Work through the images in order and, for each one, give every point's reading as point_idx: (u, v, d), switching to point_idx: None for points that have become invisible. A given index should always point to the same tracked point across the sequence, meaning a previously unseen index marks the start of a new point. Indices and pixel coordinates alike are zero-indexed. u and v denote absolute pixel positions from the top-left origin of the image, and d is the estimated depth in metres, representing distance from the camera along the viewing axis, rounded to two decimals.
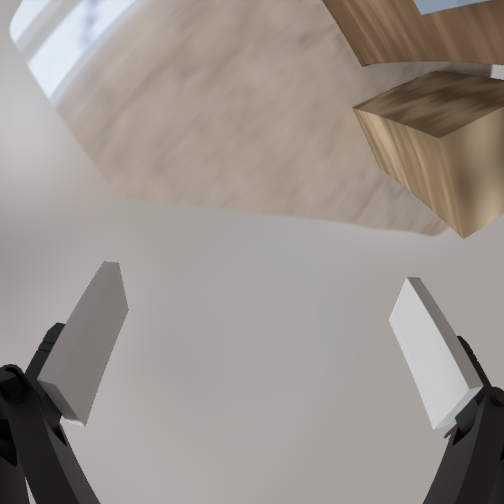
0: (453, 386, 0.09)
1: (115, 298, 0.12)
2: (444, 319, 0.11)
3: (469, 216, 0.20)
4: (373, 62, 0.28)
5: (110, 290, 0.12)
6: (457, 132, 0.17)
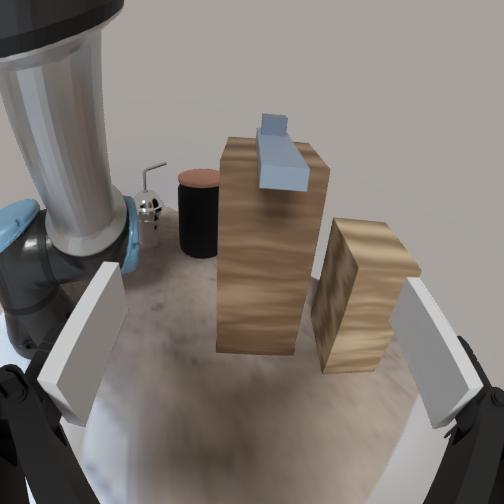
0: (453, 386, 0.09)
1: (115, 298, 0.12)
2: (444, 319, 0.11)
3: (407, 266, 0.36)
4: (295, 338, 0.47)
5: (111, 290, 0.12)
6: (356, 259, 0.36)
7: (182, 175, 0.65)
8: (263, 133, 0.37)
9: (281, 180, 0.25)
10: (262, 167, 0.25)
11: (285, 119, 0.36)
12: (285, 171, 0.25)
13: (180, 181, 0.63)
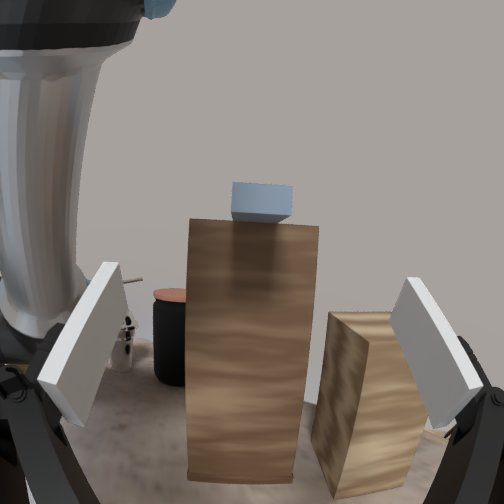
0: (453, 386, 0.09)
1: (115, 298, 0.12)
2: (444, 319, 0.11)
3: None
4: (292, 460, 0.30)
5: (111, 291, 0.12)
6: (364, 337, 0.27)
7: (158, 291, 0.59)
8: None
9: (257, 201, 0.21)
10: (234, 185, 0.21)
11: None
12: (262, 189, 0.21)
13: (155, 295, 0.57)
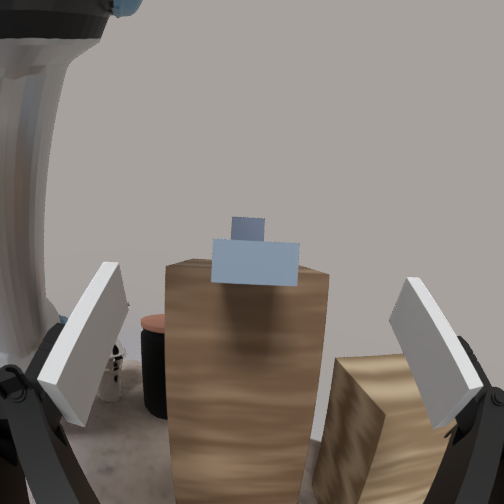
0: (453, 386, 0.09)
1: (115, 298, 0.12)
2: (444, 319, 0.11)
3: None
4: None
5: (110, 290, 0.12)
6: (379, 404, 0.21)
7: (146, 318, 0.53)
8: None
9: (249, 267, 0.14)
10: (215, 243, 0.14)
11: (261, 220, 0.29)
12: (256, 249, 0.14)
13: (142, 324, 0.50)
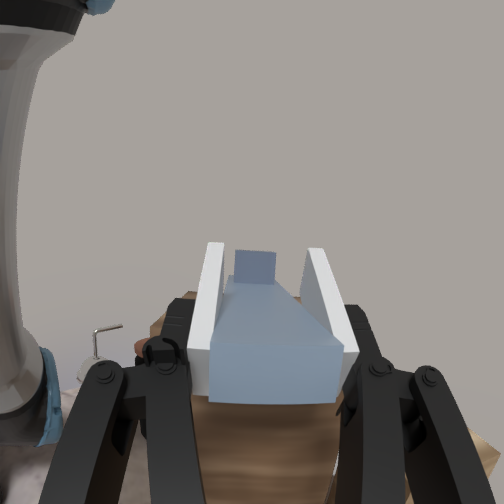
0: None
1: (222, 275, 0.14)
2: (334, 285, 0.12)
3: (480, 455, 0.15)
4: None
5: (222, 267, 0.14)
6: (405, 473, 0.15)
7: (140, 343, 0.47)
8: (236, 280, 0.23)
9: (267, 382, 0.09)
10: (213, 349, 0.09)
11: (272, 255, 0.23)
12: (278, 357, 0.09)
13: (136, 351, 0.45)
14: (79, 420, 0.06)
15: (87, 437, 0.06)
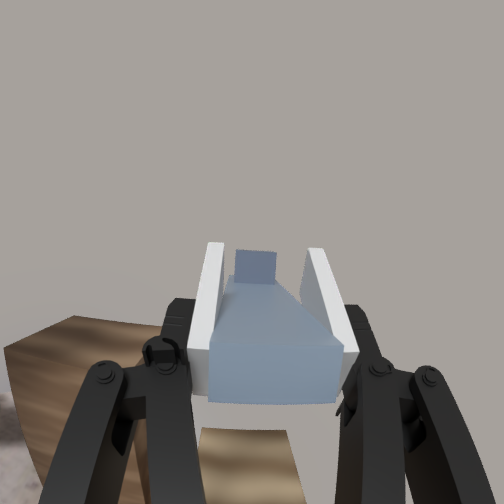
0: None
1: (222, 275, 0.14)
2: (334, 285, 0.12)
3: None
4: None
5: (222, 267, 0.14)
6: None
7: None
8: (236, 280, 0.23)
9: (266, 382, 0.09)
10: (212, 349, 0.09)
11: (273, 254, 0.23)
12: (278, 357, 0.09)
13: None
14: (79, 420, 0.06)
15: (87, 437, 0.06)
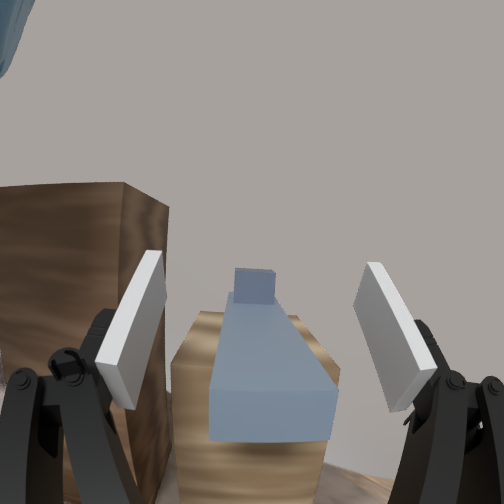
0: (406, 367, 0.09)
1: (159, 285, 0.13)
2: (401, 302, 0.12)
3: None
4: None
5: (156, 277, 0.13)
6: (180, 353, 0.17)
7: None
8: (236, 301, 0.23)
9: (264, 424, 0.09)
10: (212, 395, 0.09)
11: (272, 275, 0.23)
12: (274, 402, 0.09)
13: None
14: (7, 427, 0.06)
15: (16, 441, 0.05)
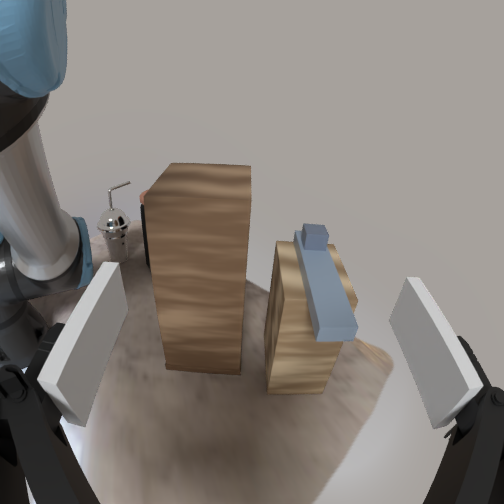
0: (453, 386, 0.09)
1: (115, 298, 0.12)
2: (444, 319, 0.11)
3: None
4: (239, 359, 0.47)
5: (110, 290, 0.12)
6: (285, 289, 0.37)
7: (144, 194, 0.65)
8: (305, 248, 0.41)
9: (334, 336, 0.30)
10: (320, 329, 0.29)
11: (326, 236, 0.40)
12: (338, 330, 0.29)
13: (141, 201, 0.63)
14: None
15: None
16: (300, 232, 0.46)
